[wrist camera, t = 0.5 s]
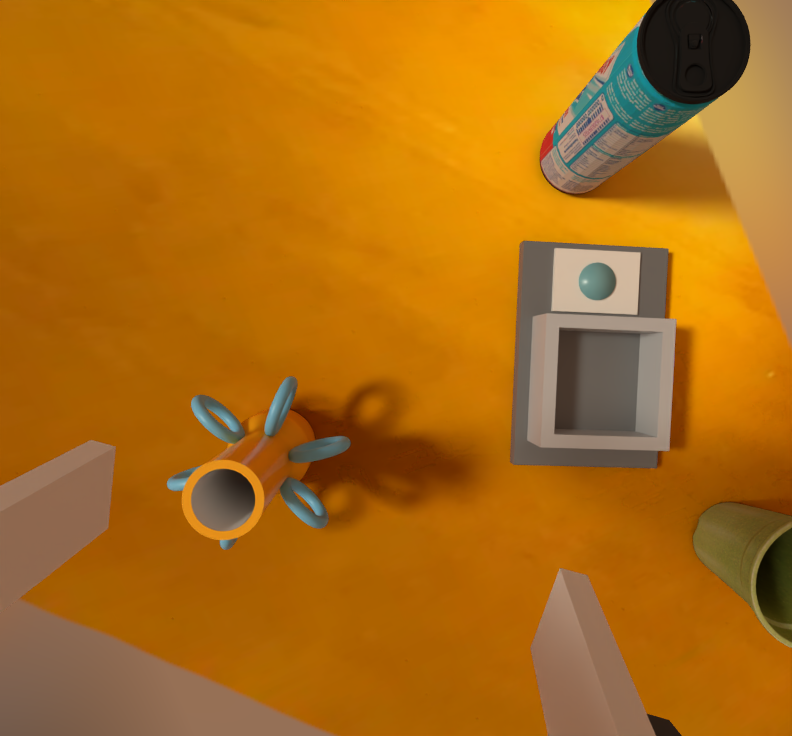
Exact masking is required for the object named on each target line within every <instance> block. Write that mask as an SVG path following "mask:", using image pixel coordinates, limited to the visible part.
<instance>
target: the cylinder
mask: <svg viewBox="0 0 792 736" xmlns="http://www.w3.org/2000/svg"><path fill="white" fill-rule="evenodd" d="M296 389H297V380H296V378H295V377H292V376H290V377H287V378H286V379H285V380H284V381H283V383H282V384H281V386H280V388H279V389H278V391H277V393H276V395H275V398H274V400H273V402H272V405H271V407H270V409H267V410H264V411H261V412H259V413H257V414H255V415H254V416H252V417H250V418H248V419H246V420H245V421H244V422H242V423H240V422H239V421H238V419H237V418H236V417H235V416H234V415H233V414H232V413H231V412H230V411H229V410H228V409H227V408H226V407H225V406H223V405H222V404H221V403H219V402H218V401H216V400H215V399H213V398H211V397H209V396H206V395H197V396H195V397H194V398H193V399H192V402H191V407H192V410H193V412H194V414H195V416H196V417H197V419H198V420H199V421H200V422H201V423H202V424H203V425H204V427H206V428H207V429H208V430H209V431H210V432H211V433H212V434H214V435H215V436H217V437H218V438H220V439H221V440H223V441H225V442H228V447H227V449H226V450H225V451H223V452H222V453H220V454H219V455H217V456H216V457H214V458H213V459H211V460H210V461H208V462H207V463H205V464H204V465H202V466H198V467H195V468H192V469H189V470H186V471H183V472H180V473H178V474H176V475H174V476H172V477H171V478H170V479H169V480H168V482H167V487H168V488H169V489H170V490H173V491H182V490H183V493H182V508H183V512H184V514H185V517H186V519H187V521H188V522H189V524H190V525H191V526H192V527H193V528H194V529H195V530H196V531H197V532H199V533H200V534H202V535H204V536H206V537H208V538H211V539H216V540H220V546H221V548H222V549H225V550H227V549H230V548H231V547H232V546H233V545H234V543H235V542H236V540H237V538H238V537H240V536H242V535H244V534H245V533H247V532H248V531H250V530H251V529H252V528H253V527H254V526H255V524H256V523H257V522H258V520H259V519H260V517H261V516H262V514H263V513H264V511H265V510H266V508H267V507H268V505H269V504H270V502H271V501H272V499H273V498H274V496H275V495H276V494H280V493H281V495H282V497H283V499H284V501H285V502H286V504H287V505H288V507H289V508H290V509H291V510H292V511H293V512H294V514H295V515H296V516H298V517H299V518H300V519H301V520H302V521H303V522H305V523H306V524H308V525H310V526H312V527H314V528H323V527H325V526H326V525H327V523H328V519H329V518H328V513H327V511H326V509H325V507H324V505H323V504H322V502H321V501H320V500H319V498H318V497H317V496H316V495H315V494H314V493H313V492H312V491H311V490H310V489H309V488H308V487H307V486H306V485H304V484H303V483H302V482H300V480H301V479H302V478H303V476H304V475H305V473H306V471H307V470H308V468H309V466H310V464H311V462H312V461H317V460H322V459H325V458H329V457H332V456H335V455H338V454H340V453H342V452H344V451H346V450H347V449H348V448H349V447H350V445H351V441H350V439H349V438H348V437H345V436H334V437H327V438H322V439H318V440H315V435H314V432H313V430H312V428H311V426H310V424H309V423H308V422H307V420H306V419H305V418H304V417H302V416H301V415H300V414H298V413H297V412H295V411H292V410H290V407H291V405H292V402H293V399H294V396H295V393H296ZM206 408H207V409H209V410H211V411H212V412H214V413H215V414H216V415H218V416H219V417H220V418H221V419H222V420H223V421H224V422H225V423H226V424H227V425H228V427H229V428H230V429H231V430H229V429H227V428H226V427H224V426H223V425H222V424H220V423H219V422H218V421H217V420H216V419H215V418H214V417H213V416H212V415H211V414H210V413H209V412H208V410H207V409H206ZM293 491H295V492H296V493H297V494H299V495H300V496H301V497H302V498H303V499H304V500H305V501H306V502H307V503H308V504H309V505H310V506H311V508H312V509H313V511H314V512H315V514H314V513H313V512H311V511H310V510H309V509H308V508H307V507H305V506H304V505H303V504H302V502H301V501H300V500H299V499H298V498H297V496H296V495H295V493H294V492H293Z"/></svg>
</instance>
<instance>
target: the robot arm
mask: <svg viewBox="0 0 792 736" xmlns="http://www.w3.org/2000/svg"><path fill="white" fill-rule="evenodd" d="M115 448H116V447H115V446H111V445H108V444H104V443H100V442H97V441H93V440H90V441H88V442H86V443H84V444H82V445H80V446H78V447H76V448H74V449H72V450H70V451H68V452H66V453H64V454H62V455H61V456H59V457H57V458H55V459H53V460H51V461H49V462H47V463H45V464H43V465H41V466H39V467H37V468H35V469H33V470H31V471H29V472H27V473H25V474H23V475H21V476H19V477H17V478H15V479H13V480H11V481H9V482H7V483H5V484H3V485H1V486H0V613H1V612H3V611H4V610H5V609H6V608H8V607H9V606H10V605H11V604H13V603H14V602H15V601H17V600H18V599H19V598H20V597H22V596H23V595H24V594H25V593H27V592H28V591H29V590H30V589H32V588H33V587H34V586H36V585H37V584H38V583H39V582H41V581H42V580H43V579H44V578H46V577H47V576H48V575H49V574H51V573H52V572H53V571H55V570H56V569H57V568H58V567H60V566H61V565H62V564H63V563H65V562H66V561H67V560H68V559H70V558H71V557H72V556H73V555H75V554H76V553H77V552H79V551H80V550H81V549H82V548H84V547H85V546H86V545H87V544H89V543H90V542H91V541H92V540H94V539H95V538H96V537H98V536H99V535H100V534H101V533H103V532H104V531H105V530H106V529H108V522H109V512H110V501H111V490H112V480H113V469H114V459H115ZM531 653H532V658H533V663H534V667H535V672H536V677H537V682H538V687H539V692H540V697H541V702H542V707H543V712H544V717H545V721H546V726H547V731H548V736H681V734H680V733H679V732H678V731H677V729H676V728H675V727H674V726H673V724H672V723H671V722H670V721H669V720H667V719H663V718H660V717H656V716H653V715H649V714H646V711H645V709H644V707H643V704H642V702H641V700H640V697H639V695H638V693H637V690H636V688H635V686H634V683H633V681H632V679H631V676H630V674H629V672H628V669H627V667H626V665H625V662H624V660H623V658H622V655H621V653H620V651H619V648H618V646H617V644H616V641H615V639H614V637H613V634H612V632H611V630H610V627H609V625H608V623H607V620H606V618H605V616H604V613H603V611H602V609H601V606H600V604H599V602H598V599H597V597H596V595H595V592H594V590H593V588H592V585H591V583H590V581H589V578H588V576H587V575H583V574H580V573H576V572H572V571H569V570H565V569H561V568H560V569H559V572H558V575H557V578H556V580H555V583H554V586H553V588H552V591H551V594H550V597H549V599H548V602H547V605H546V607H545V610H544V613H543V616H542V618H541V621H540V624H539V626H538V629H537V632H536V635H535V637H534V640H533V643H532V645H531Z"/></svg>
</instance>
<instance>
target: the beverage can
mask: <svg viewBox="0 0 792 736" xmlns="http://www.w3.org/2000/svg"><path fill="white" fill-rule="evenodd" d="M749 54H750V34H749V29H748V25H747V23H746V20H745V18H744V16H743V14H742V12H741V11H740V9H739V8H738V6H737V5H736V4H735V3H734V2H733V1H732V0H656V1H655V2H654V3H653V5H652V6H651V7H650V8H649V10H648V11H647V12H646V14H645V15H644V16H643V17H642V18H641V20H640V21H639V22H638V23H637V24H636V26H635V27H634V28H633V29H632V30H631V32H630V33H629V34H628V35H627V36H626V38H625V39H624V40H623V41H622V42H621V44H620V45H619V46H618V47H617V49H616V50H615V51H614V52H613V53H612V55H611V56H610V57H609V58H608V60H607V61H606V62H605V63H604V64H603V66H602V67H601V68H600V69H599V71H598V72H597V73H596V74H595V75H594V77H593V78H592V79H591V80H590V82H589V83H588V84H587V85H586V87H585V88H584V89H583V90H582V92H581V93H580V94H579V95H578V97H577V98H576V99H575V100H574V102H573V103H572V104H571V105H570V106H569V108H568V109H567V110H566V111H565V113H564V114H563V115H562V116H561V118H560V119H559V120H558V121H557V123H556V124H555V125H554V126H553V128H552V129H551V130H550V131H549V132H548V133H547V135H546V137H545V138H544V140H543V143H542V146H541V150H540V166H541V170H542V172H543V175H544V177H545V178H546V180H547V181H548V182H549V183H550V184H551V185H552V186H553V187H554V188H556V189H557V190H559V191H562V192H564V193H570V194H579V193H585V192H588V191H591V190H593V189H594V188H596V187H598V186H599V185H600V184H601V183H603V182H604V181H606V180H607V179H608V178H610V177H611V176H612V175H614V174H615V173H617V172H618V171H619V170H621V169H622V168H624V167H625V166H626V165H628V164H629V163H630V162H632V161H633V160H635V159H636V158H637V157H639V156H640V155H641V154H643V153H644V152H646V151H647V150H648V149H650V148H651V147H652V146H654V145H655V144H657V143H658V142H659V141H661V140H662V139H663V138H665V137H666V136H668V135H669V134H670V133H672V132H673V131H674V130H676V129H677V128H678V127H680V126H681V125H682V124H684V123H685V122H687V121H688V120H689V119H691V118H692V117H693V116H695V115H696V114H697V113H699V112H700V111H701V110H703V109H704V108H705V107H707V106H708V105H709V104H711V103H712V102H713V101H715V100H716V99H717V98H718V97H720V96H721V95H723V94H724V93H726V92H727V91H728V90H730V89H731V88H732V87H733V86H734V85H735V84H736V83H737V81H738V80H739V79H740V77H741V76H742V74H743V72H744V70H745V68H746V66H747V63H748V59H749Z"/></svg>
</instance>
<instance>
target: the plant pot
mask: <svg viewBox="0 0 792 736" xmlns="http://www.w3.org/2000/svg"><path fill="white" fill-rule="evenodd" d="M693 545H694V549H695V552H696V554H697V556H698V558H699V559H700V560H701V562H702V563H703V564H704V565H705V566H707V567H708V568H709V569H710V570H711V571H712V572H713V573H714V574H716V575H717V576H718V577H719V578H720V579H721V580H723V581H724V582H725V583H726V584H727V585H728V586H729V587H730V588H732V589H733V590H734V591H735V592H736V593H737V594H738V595H739V596H740V597H742V598H743V599H744V600H745V601H746V602H747V603H748V604H749V605H750V607H751V608H752V610H753V611H754V612H755V614H756V616H757V618H758V620H759V621H760V623H761V624H762V625H763V627H764V628H765V629H766V630H767V631H768V632H769V633H770V634H771V635H772V636H773V637H774V638H776V639H777V640H778V641H780V642H781V643H783V644H785V645H787V646H789V647H791V648H792V516H790V515H785V514H781V513H777V512H773V511H769V510H764V509H760V508H756V507H752V506H748V505H744V504H739V503H734V502H724V503H719V504H716V505H714V506H712V507H710V508H709V509H707V510H706V511H705V512H704V513H703V514H702V515H701V516H700V518H699V522H698V526H697V528H696V531H695V533H694V534H693Z"/></svg>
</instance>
